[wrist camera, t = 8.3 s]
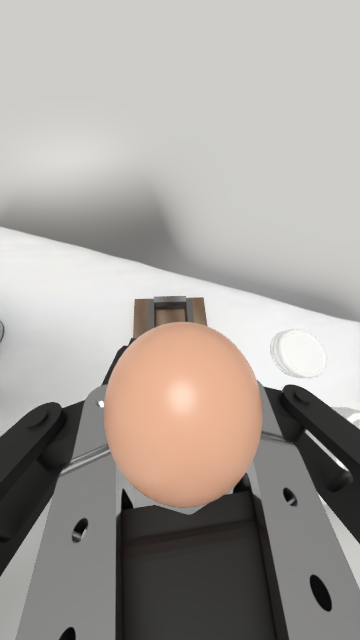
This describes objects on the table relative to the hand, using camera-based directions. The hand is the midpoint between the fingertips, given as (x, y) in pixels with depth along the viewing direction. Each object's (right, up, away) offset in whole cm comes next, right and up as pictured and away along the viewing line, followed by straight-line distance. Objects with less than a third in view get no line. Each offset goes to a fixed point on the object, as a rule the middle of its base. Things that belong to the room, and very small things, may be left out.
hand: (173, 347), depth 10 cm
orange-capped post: (0, -4, +5) cm, 6 cm away
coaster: (+26, -6, +21) cm, 34 cm away
